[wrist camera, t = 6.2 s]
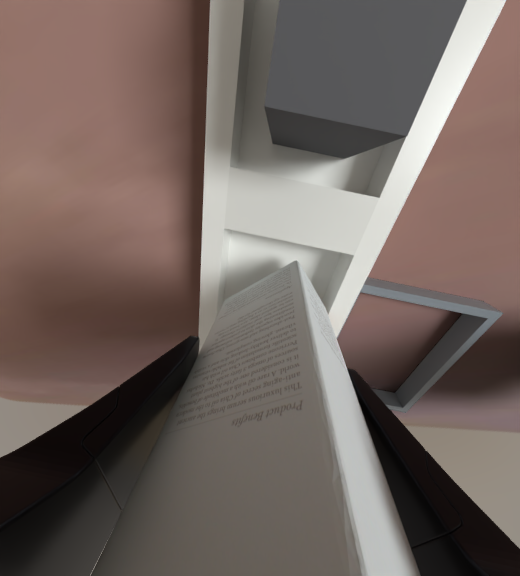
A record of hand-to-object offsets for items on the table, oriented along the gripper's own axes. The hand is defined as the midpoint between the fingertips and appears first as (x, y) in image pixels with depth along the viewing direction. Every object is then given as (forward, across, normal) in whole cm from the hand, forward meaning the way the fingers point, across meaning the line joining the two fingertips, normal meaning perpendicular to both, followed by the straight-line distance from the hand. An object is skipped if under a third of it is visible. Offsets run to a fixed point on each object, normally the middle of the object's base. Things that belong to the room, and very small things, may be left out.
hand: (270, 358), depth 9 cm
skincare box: (+5, 0, 0) cm, 5 cm away
